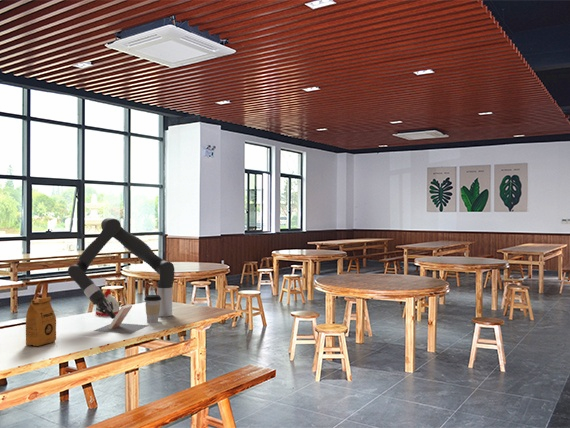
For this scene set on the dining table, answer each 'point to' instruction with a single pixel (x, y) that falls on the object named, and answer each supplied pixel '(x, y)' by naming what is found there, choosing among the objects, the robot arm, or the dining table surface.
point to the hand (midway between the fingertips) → (114, 317)
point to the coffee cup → (152, 307)
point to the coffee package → (40, 323)
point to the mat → (122, 328)
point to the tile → (120, 316)
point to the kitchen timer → (114, 302)
